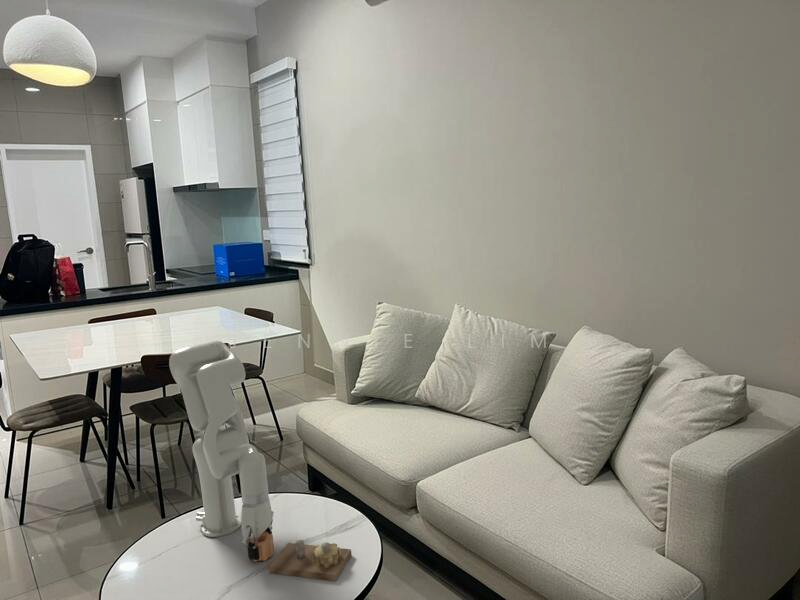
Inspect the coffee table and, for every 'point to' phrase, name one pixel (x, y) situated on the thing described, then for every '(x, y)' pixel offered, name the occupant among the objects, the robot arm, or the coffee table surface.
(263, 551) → the loose gear
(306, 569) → the gear board
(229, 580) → the coffee table surface
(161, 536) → the coffee table surface
